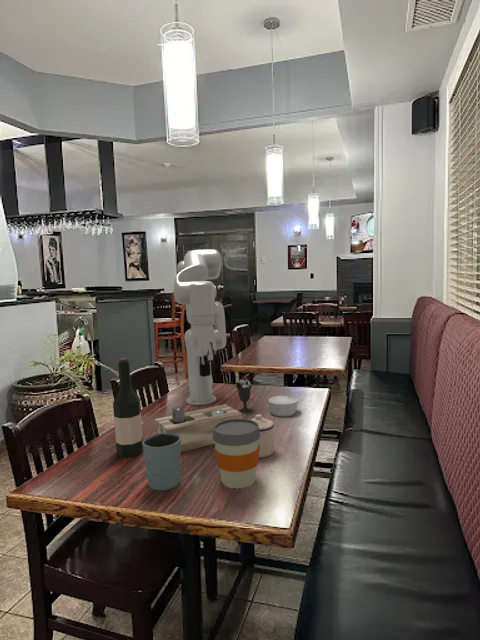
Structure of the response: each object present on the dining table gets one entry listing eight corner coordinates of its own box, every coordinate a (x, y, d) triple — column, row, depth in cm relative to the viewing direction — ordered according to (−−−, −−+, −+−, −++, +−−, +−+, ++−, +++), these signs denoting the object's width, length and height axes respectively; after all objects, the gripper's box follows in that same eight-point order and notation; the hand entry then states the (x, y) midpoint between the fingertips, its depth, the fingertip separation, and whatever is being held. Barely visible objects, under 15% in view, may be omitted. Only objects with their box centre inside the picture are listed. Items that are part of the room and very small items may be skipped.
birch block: (156, 442, 148) (155, 419, 147) (226, 426, 160) (225, 404, 159) (169, 455, 137) (167, 430, 136) (242, 436, 150) (241, 413, 149)
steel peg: (211, 431, 153) (209, 410, 152) (221, 429, 155) (220, 408, 154) (216, 435, 149) (215, 413, 148) (226, 432, 151) (225, 411, 150)
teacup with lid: (275, 446, 141) (274, 410, 139) (274, 458, 132) (273, 420, 130) (237, 445, 142) (235, 410, 141) (234, 458, 133) (232, 420, 132)
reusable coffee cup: (268, 487, 115) (266, 431, 113) (221, 496, 112) (218, 438, 110) (253, 466, 127) (251, 415, 125) (210, 474, 124) (207, 421, 122)
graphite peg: (171, 430, 146) (170, 408, 145) (183, 427, 148) (181, 405, 147) (176, 434, 142) (174, 411, 141) (187, 431, 144) (186, 409, 143)
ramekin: (304, 413, 170) (303, 400, 170) (281, 420, 164) (281, 406, 164) (285, 406, 180) (284, 393, 179) (263, 412, 174) (262, 399, 173)
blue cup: (149, 495, 114) (146, 450, 112) (141, 478, 123) (138, 436, 121) (188, 485, 117) (185, 442, 116) (177, 470, 127) (175, 429, 125)
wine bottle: (148, 448, 143) (142, 356, 140) (134, 459, 135) (127, 362, 132) (126, 446, 146) (119, 355, 142) (111, 456, 138) (103, 361, 134)
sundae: (254, 407, 179) (252, 371, 178) (252, 413, 173) (251, 375, 171) (237, 407, 180) (236, 371, 178) (235, 413, 173) (234, 375, 172)
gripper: (182, 319, 150) (185, 373, 152) (202, 323, 137) (205, 382, 139) (202, 317, 154) (205, 370, 156) (223, 321, 141) (226, 378, 143)
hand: (205, 375), depth 147 cm, fingers closed
